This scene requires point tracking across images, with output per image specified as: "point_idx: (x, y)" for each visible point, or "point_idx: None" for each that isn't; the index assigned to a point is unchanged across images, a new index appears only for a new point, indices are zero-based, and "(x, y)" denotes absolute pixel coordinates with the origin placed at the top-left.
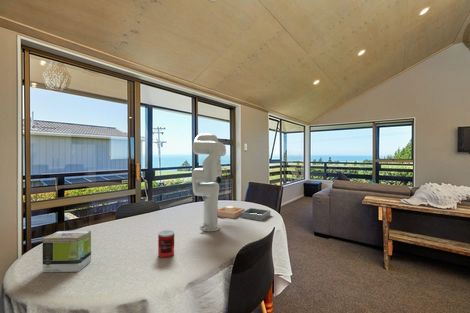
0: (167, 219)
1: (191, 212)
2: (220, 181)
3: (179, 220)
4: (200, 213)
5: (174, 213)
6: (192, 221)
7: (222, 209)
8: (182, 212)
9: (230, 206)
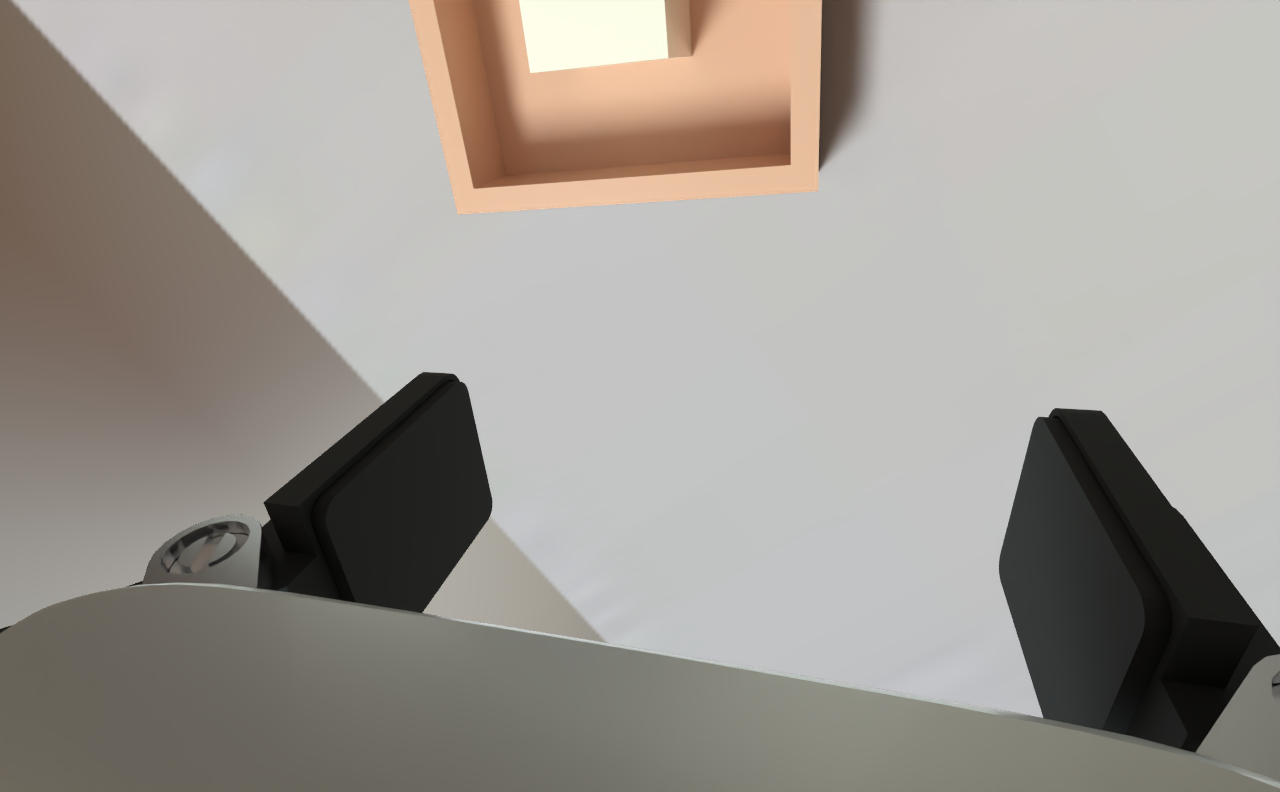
0: (1269, 591)
1: (816, 534)
2: (419, 403)
3: (1267, 452)
4: (796, 424)
5: (960, 655)
6: (1259, 272)
7: (607, 175)
8: (873, 611)
9: (543, 2)
